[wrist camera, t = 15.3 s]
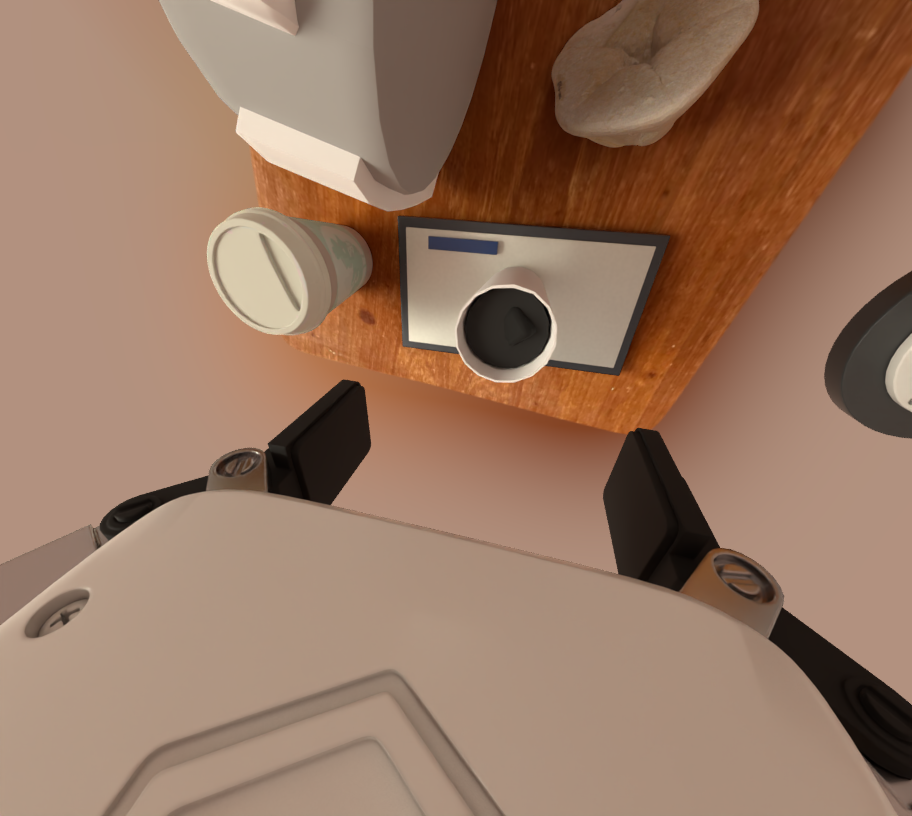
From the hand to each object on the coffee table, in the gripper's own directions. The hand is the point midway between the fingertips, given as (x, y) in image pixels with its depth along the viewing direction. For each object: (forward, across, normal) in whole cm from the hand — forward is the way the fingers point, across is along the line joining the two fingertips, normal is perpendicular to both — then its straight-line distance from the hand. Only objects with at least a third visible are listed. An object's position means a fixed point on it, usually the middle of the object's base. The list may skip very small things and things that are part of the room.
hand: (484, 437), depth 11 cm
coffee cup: (+22, +18, -2) cm, 28 cm away
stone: (+23, -4, -15) cm, 27 cm away
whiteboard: (+22, 0, 0) cm, 22 cm away
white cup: (+21, +1, 0) cm, 21 cm away
